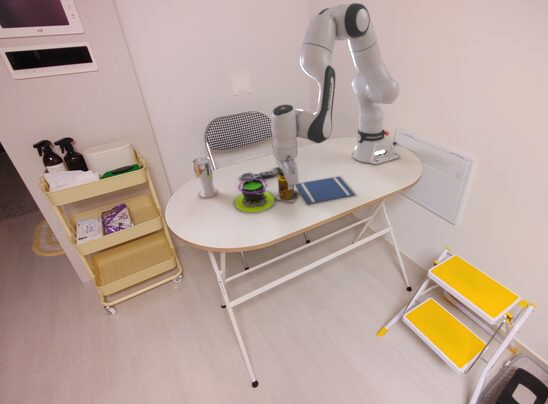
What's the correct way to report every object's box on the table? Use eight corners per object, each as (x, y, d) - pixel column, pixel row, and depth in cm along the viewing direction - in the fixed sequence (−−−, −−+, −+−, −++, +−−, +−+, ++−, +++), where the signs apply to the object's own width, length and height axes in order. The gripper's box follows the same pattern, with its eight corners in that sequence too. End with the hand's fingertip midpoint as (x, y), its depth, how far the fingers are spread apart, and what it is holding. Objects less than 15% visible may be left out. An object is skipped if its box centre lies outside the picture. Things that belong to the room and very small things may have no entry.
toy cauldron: (277, 208, 114) (275, 183, 108) (237, 215, 111) (232, 189, 105) (270, 189, 126) (268, 165, 120) (234, 194, 123) (229, 170, 117)
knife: (292, 158, 148) (302, 165, 141) (292, 161, 149) (303, 168, 142) (237, 173, 136) (246, 182, 129) (238, 177, 137) (246, 185, 129)
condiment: (275, 199, 120) (272, 172, 113) (284, 189, 126) (282, 163, 120) (291, 203, 118) (290, 176, 111) (300, 192, 124) (299, 166, 117)
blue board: (339, 177, 135) (339, 176, 134) (354, 195, 122) (354, 194, 122) (296, 184, 129) (296, 183, 129) (307, 204, 117) (307, 203, 116)
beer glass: (202, 189, 127) (195, 156, 118) (219, 189, 126) (212, 156, 118) (197, 198, 121) (188, 164, 112) (214, 198, 121) (206, 164, 112)
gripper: (302, 161, 103) (303, 196, 111) (286, 140, 119) (288, 171, 127) (284, 164, 102) (286, 199, 109) (271, 142, 118) (273, 173, 125)
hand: (287, 184), depth 118 cm, fingers closed on condiment, 6 cm apart
